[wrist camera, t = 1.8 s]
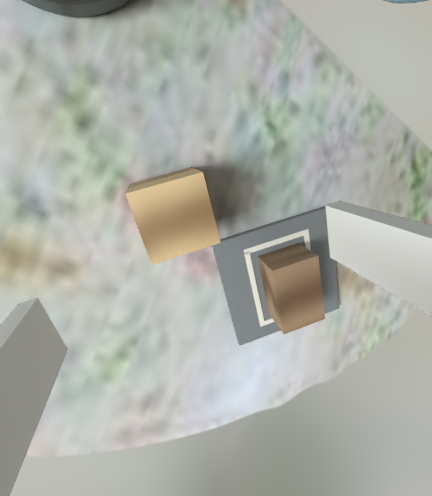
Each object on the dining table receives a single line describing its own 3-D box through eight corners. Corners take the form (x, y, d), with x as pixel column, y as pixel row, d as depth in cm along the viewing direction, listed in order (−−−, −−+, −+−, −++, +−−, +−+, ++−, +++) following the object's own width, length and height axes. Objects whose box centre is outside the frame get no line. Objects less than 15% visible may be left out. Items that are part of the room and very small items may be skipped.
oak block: (129, 184, 26) (125, 193, 20) (191, 167, 26) (203, 171, 21) (150, 242, 28) (151, 264, 22) (206, 224, 29) (220, 242, 23)
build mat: (211, 242, 29) (212, 244, 29) (328, 205, 31) (331, 206, 31) (238, 342, 35) (239, 346, 34) (336, 305, 36) (339, 308, 36)
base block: (257, 256, 31) (272, 270, 27) (298, 242, 31) (318, 255, 28) (269, 314, 34) (284, 334, 30) (305, 300, 34) (324, 318, 31)
